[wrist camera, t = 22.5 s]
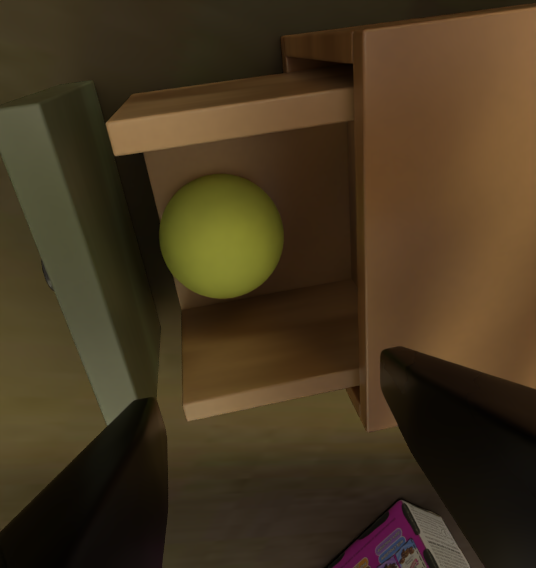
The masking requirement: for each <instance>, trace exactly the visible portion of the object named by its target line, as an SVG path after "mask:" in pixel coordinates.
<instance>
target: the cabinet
mask: <svg viewBox="0 0 536 568" xmlns="http://www.w3.org/2000/svg"><path fill="white" fill-rule="evenodd" d="M280 40H281V51H282V62H283V73H288V72H295V71H302V70H309V69H316V68H324V67H331V66H338V65H345V64H353V78H354V128H355V177H356V227H357V277H358V327H359V377H360V385H359V386H354V387H349V388H345V389H346V391H347V393H348V395H349V397H350V399H351V401H352V403H353V405H354V407H355V409H356V411H357V414H358V416H359V417H360V419H361V421H362V423H363V425H364V427H365V430H366V431H367V432H373V431H378V430H382V429H387V428H391V427H396V426H398V424H397V422H396V420H395V418H394V416H393V414H392V412H391V410H390V408H389V406H388V404H387V402H386V400H385V398H384V395H383V393H382V390H381V385H380V355H381V352H382V350H384V349H387V348H392V347H397V346H402V347H405V348H409V349H412V350H415V351H418V352H421V353H424V354H427V355H430V356H434V357H437V358H440V359H443V360H446V361H449V362H452V363H455V364H459V365H462V366H465V367H468V368H471V369H474V370H477V371H481V372H484V373H487V374H490V375H493V376H496V377H499V378H503V379H506V380H509V381H512V382H515V383H518V384H521V385H524V386H528V387H531V388H534V389H536V3H531V4H523V5H515V6H508V7H500V8H492V9H485V10H477V11H469V12H462V13H454V14H446V15H438V16H431V17H423V18H415V19H408V20H400V21H392V22H385V23H377V24H369V25H362V26H354V27H346V28H339V29H331V30H323V31H315V32H308V33H300V34H292V35H285V36H281V38H280Z"/></svg>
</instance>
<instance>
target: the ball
mask: <svg viewBox="0 0 536 568" xmlns="http://www.w3.org/2000/svg"><path fill="white" fill-rule="evenodd" d="M159 243H160V249H161V253H162V256H163V258H164V261H165V263H166V265H167V267H168V269H169V270H170V272H171V273H172V274H173V276H174V277H175V278H176V279H177V280H178V281H179V282H180V283H181V284H183V285H184V286H185V287H186V288H188V289H190V290H191V291H193V292H195V293H197V294H200V295H203V296H206V297H210V298H218V299H227V298H234V297H238V296H242V295H244V294H247V293H249V292H251V291H253V290H254V289H256V288H257V287H259V286H260V285H262V284H263V283H264V282H265V281H266V280H267V279H268V278H269V276H270V275H271V274H272V273H273V271H274V270H275V268H276V266H277V264H278V262H279V260H280V257H281V253H282V250H283V244H284V230H283V224H282V220H281V217H280V214H279V212H278V209H277V207H276V206H275V204H274V202H273V201H272V199H271V198H270V197H269V196H268V195H267V194H266V193H265V192H264V191H263V190H262V189H261V188H260V187H259V186H257V185H256V184H254V183H253V182H251V181H249V180H247V179H245V178H242V177H239V176H235V175H231V174H212V175H206V176H203V177H200V178H197V179H195V180H193V181H191V182H189V183H188V184H186V185H184V186H183V187H182V188H181V189H180V190H178V191H177V192H176V194H175V195H174V196H173V197H172V198H171V200H170V201H169V203H168V204H167V206H166V208H165V210H164V212H163V215H162V219H161V222H160V228H159Z"/></svg>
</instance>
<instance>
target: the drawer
mask: <svg viewBox="0 0 536 568" xmlns="http://www.w3.org/2000/svg"><path fill="white" fill-rule="evenodd" d="M106 128H107V129H106ZM107 131H108V133H107ZM108 135H109V136H108ZM109 139H110V140H109ZM110 142H111V143H110ZM111 146H112V147H111ZM112 150H113V151H112ZM142 152H143V154H144V159H145V163H146V167H147V171H148V175H149V179H150V183H151V187H152V192H153V196H154V200H155V204H156V208H157V212H158V216H159V221H160V222H161V219H162V215H163V212H164V210H165V208H166V206H167V204H168V203H169V201H170V200H171V198H172V197H173V196H174V195H175V194H176V192H177V191H178V190H180V189H181V188H182V187H183V186H184V185H186V184H188V183H189V182H191V181H193V180H195V179H197V178H200V177H203V176H206V175H212V174H231V175H235V176H239V177H242V178H245V179H247V180H249V181H251V182H253V183H254V184H256V185H257V186H259V187H260V188H261V189H262V190H263V191H264V192H265V193H266V194H267V195H268V196H269V197H270V198H271V199H272V201H273V202H274V204H275V206H276V207H277V209H278V212H279V214H280V217H281V220H282V224H283V230H284V244H283V250H282V253H281V257H280V260H279V262H278V264H277V266H276V268H275V270H274V271H273V273H272V274H271V275H270V276H269V278H268V279H267V280H266V281H265V282H264V283H263V284H262V285H260V286H259V287H257V288H256V289H254V290H253V291H251V292H249V293H247V294H244V295H242V296H238V297H234V298H227V299H218V298H210V297H206V296H203V295H200V294H197V293H195V292H193V291H191V290H190V289H188V288H186V287H185V286H184V285H183V284H181V283H180V282H179V281H178V280H177V279H176V278H175V277H174V276H173V278H174V282H175V287H176V291H177V295H178V299H179V303H180V307H181V330H182V406H183V409H184V413H185V417H186V420H187V421H193V420H197V419H202V418H207V417H212V416H216V415H221V414H226V413H231V412H235V411H240V410H245V409H250V408H254V407H259V406H264V405H269V404H273V403H278V402H283V401H288V400H292V399H297V398H302V397H307V396H311V395H316V394H321V393H325V392H330V391H335V390H340V389H344V388H349V387H354V386H359V385H360V377H359V327H358V277H357V227H356V177H355V128H354V78H353V64H345V65H338V66H331V67H324V68H316V69H309V70H302V71H295V72H288V73H280V74H273V75H266V76H259V77H251V78H244V79H237V80H230V81H222V82H215V83H208V84H201V85H194V86H186V87H179V88H172V89H165V90H157V91H150V92H143V93H136V94H132V95H131V96H130V97H129V98H128V99H127V100H126V102H125V103H124V104H123V105H122V106H121V107H120V108H119V109H118V110H117V111H116V112H115V113H114V114H113V116H112V117H111V118H110V119H109V120H108V121H107V122H106V125H105V122H104V118H103V114H102V111H101V107H100V103H99V100H98V96H97V92H96V89H95V85H94V82H93V81H91V80H90V81H82V82H75V83H68V84H60V85H57V86H55V87H52V88H49V89H46V90H43V91H40V92H37V93H34V94H31V95H28V96H25V97H22V98H19V99H16V100H13V101H10V102H7V103H4V104H1V105H0V154H1V157H2V159H3V162H4V164H5V167H6V169H7V172H8V175H9V177H10V180H11V182H12V185H13V187H14V190H15V192H16V195H17V197H18V200H19V203H20V205H21V208H22V210H23V213H24V215H25V218H26V220H27V223H28V226H29V228H30V231H31V233H32V236H33V238H34V241H35V243H36V246H37V248H38V251H39V254H40V256H41V262H42V269H43V273H44V277H45V279H46V282H47V284H48V285H49V287H50V288H51V289H52V290H53V291H54V292H55V294H56V297H57V299H58V302H59V305H60V307H61V310H62V312H63V315H64V317H65V320H66V322H67V325H68V328H69V330H70V333H71V335H72V338H73V340H74V343H75V345H76V348H77V350H78V353H79V356H80V358H81V361H82V363H83V366H84V368H85V371H86V373H87V376H88V379H89V381H90V384H91V386H92V389H93V391H94V394H95V396H96V399H97V401H98V404H99V407H100V409H101V412H102V414H103V417H104V419H105V422H106V424H107V426H108V425H109V424H110V423H111V422H112V421H113V420H114V419H115V418H116V417H117V416H118V415H119V414H120V413H121V412H122V411H123V410H124V409H125V408H126V407H127V406H128V405H129V404H130V403H131V402H133V401H134V400H137V399H142V398H147V397H154V398H155V399H157V383H158V367H159V351H160V335H161V326H160V322H159V319H158V315H157V312H156V308H155V304H154V301H153V297H152V293H151V290H150V286H149V282H148V279H147V275H146V271H145V268H144V264H143V260H142V257H141V253H140V249H139V246H138V242H137V238H136V235H135V231H134V227H133V224H132V220H131V217H130V213H129V209H128V206H127V202H126V198H125V195H124V191H123V187H122V184H121V180H120V176H119V173H118V169H117V165H116V162H115V158H114V155H115V156H122V155H129V154H135V153H142ZM113 153H114V154H113Z"/></svg>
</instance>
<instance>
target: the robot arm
mask: <svg viewBox="0 0 536 568" xmlns="http://www.w3.org/2000/svg"><path fill="white" fill-rule="evenodd" d="M380 385H381V390H382V393H383V395H384V398H385V400H386V402H387V404H388V406H389V408H390V410H391V412H392V414H393V416H394V418H395V420H396V422H397V424H398V427H399V429H400V431H401V433H402V435H403V437H404V439H405V441H406V443H407V445H408V447H409V449H410V451H411V453H412V454H413V456H414V458H415V459H416V461H417V463H418V464H419V466H420V467H421V469H422V470H423V472H424V473H425V475H426V477H427V478H428V480H429V481H430V483H431V484H432V486H433V487H434V489H435V491H436V492H437V494H438V495H439V497H440V498H441V500H442V501H443V503H444V504H445V506H446V508H447V509H448V511H449V512H450V514H451V515H452V517H453V518H454V520H455V522H456V523H457V525H458V526H459V528H460V529H461V531H462V532H463V534H464V536H465V537H466V539H467V540H468V542H469V543H470V545H471V546H472V548H473V549H474V551H475V553H476V554H477V556H478V557H479V559H480V560H481V562H482V563H483V565H484V567H485V568H536V389H534V388H531V387H528V386H524V385H521V384H518V383H515V382H512V381H509V380H506V379H503V378H499V377H496V376H493V375H490V374H487V373H484V372H481V371H477V370H474V369H471V368H468V367H465V366H462V365H459V364H455V363H452V362H449V361H446V360H443V359H440V358H437V357H434V356H430V355H427V354H424V353H421V352H418V351H415V350H412V349H409V348H405V347H402V346H397V347H392V348H387V349H384V350H382V352H381V355H380ZM167 514H168V461H167V435H166V429H165V425H164V422H163V419H162V416H161V412H160V409H159V406H158V403H157V400H156V399H155V398H154V397H147V398H142V399H137V400H134V401H133V402H131V403H130V404H129V405H128V406H127V407H126V408H125V409H124V410H123V411H122V412H121V413H120V414H119V415H118V416H117V417H116V418H115V419H114V420H113V421H112V422H111V423H110V424H109V425H108V426H107V427H106V428H105V429H104V430H103V431H102V432H101V433H100V434H99V435H98V436H97V437H96V438H95V439H94V440H93V441H92V442H91V443H90V444H89V445H88V446H87V447H86V448H85V449H84V450H83V451H82V452H81V453H80V454H79V455H78V456H77V457H76V458H75V459H74V460H73V461H72V462H71V463H70V464H69V465H68V466H67V467H66V468H65V469H64V470H63V471H61V472H60V473H59V474H58V475H57V476H56V477H55V478H54V479H53V480H52V481H51V482H50V483H49V484H48V485H47V486H46V487H45V488H44V489H43V490H42V491H41V492H40V493H39V494H38V495H37V496H36V497H35V498H34V499H33V500H32V501H31V502H30V503H29V504H28V505H27V506H26V507H25V508H24V509H23V510H22V511H21V512H20V513H19V514H18V515H17V516H16V517H15V518H14V519H13V520H12V521H11V522H10V523H9V524H8V525H7V526H6V527H5V528H4V529H3V530H2V531H1V532H0V568H162V560H163V552H164V543H165V534H166V525H167Z"/></svg>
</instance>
